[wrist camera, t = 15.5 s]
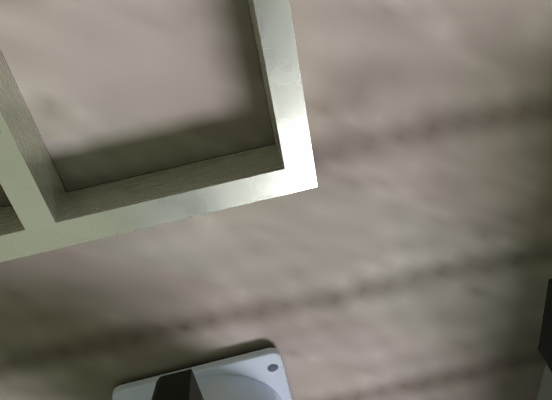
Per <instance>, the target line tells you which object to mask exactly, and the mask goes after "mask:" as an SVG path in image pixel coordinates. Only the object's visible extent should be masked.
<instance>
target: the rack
mask: <svg viewBox="0 0 552 400" xmlns="http://www.w3.org/2000/svg"><path fill="white" fill-rule="evenodd" d="M248 5H249V10H250V15H251V20H252V25H253V31H254V36H255V41H256V46H257V51H258V56H259V61H260V67H261V72H262V77H263V82H264V87H265V92H266V97H267V103H268V108H269V113H270V118H271V123H272V128H273V134H274V139H275V144H273V145H269V146H265V147H260V148H256V149H252V150H248V151H243V152H239V153H235V154H230V155H226V156H222V157H217V158H213V159H209V160H205V161H200V162H196V163H192V164H187V165H183V166H179V167H174V168H170V169H166V170H162V171H157V172H153V173H149V174H144V175H140V176H136V177H132V178H127V179H123V180H119V181H114V182H110V183H106V184H101V185H97V186H93V187H89V188H84V189H80V190H76V191H71V192H67V193H66V191H65V188H64V186H63V184H62V182H61V180H60V178H59V175H58V173H57V171H56V169H55V167H54V165H53V163H52V160H51V158H50V156H49V154H48V152H47V150H46V148H45V145H44V143H43V141H42V139H41V137H40V135H39V132H38V130H37V128H36V126H35V124H34V122H33V120H32V117H31V115H30V113H29V111H28V109H27V107H26V104H25V102H24V100H23V98H22V96H21V94H20V92H19V89H18V87H17V85H16V83H15V81H14V79H13V76H12V74H11V72H10V70H9V68H8V66H7V64H6V61H5V59H4V57H3V55H2V53H1V51H0V184H1V186H2V188H3V190H4V191H5V193H6V195H7V197H8V199H9V201H10V202H11V204H12V205H11V206H7V207H3V208H0V262H4V261H8V260H13V259H17V258H21V257H25V256H30V255H34V254H38V253H42V252H46V251H51V250H55V249H59V248H63V247H67V246H72V245H76V244H80V243H84V242H88V241H93V240H97V239H101V238H105V237H109V236H114V235H118V234H122V233H126V232H130V231H135V230H139V229H143V228H147V227H151V226H156V225H160V224H164V223H168V222H173V221H177V220H181V219H185V218H189V217H194V216H198V215H202V214H206V213H210V212H215V211H219V210H223V209H227V208H231V207H236V206H240V205H244V204H248V203H252V202H257V201H261V200H265V199H269V198H273V197H278V196H282V195H286V194H290V193H295V192H299V191H303V190H307V189H311V188H316V187H318V186H317V180H316V173H315V166H314V160H313V153H312V147H311V140H310V134H309V127H308V121H307V114H306V108H305V101H304V94H303V88H302V81H301V75H300V68H299V62H298V55H297V49H296V42H295V36H294V29H293V22H292V16H291V9H290V3H289V0H248Z"/></svg>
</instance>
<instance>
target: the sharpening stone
mask: <svg viewBox="0 0 552 400" xmlns="http://www.w3.org/2000/svg"><path fill="white" fill-rule="evenodd" d="M537 400H552V372H551V370H550V369H549V367H548V365H547V363H546V365H545V369H544V373H543V377H542V381H541V385H540V389H539V393H538V397H537Z"/></svg>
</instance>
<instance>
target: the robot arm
mask: <svg viewBox="0 0 552 400" xmlns="http://www.w3.org/2000/svg"><path fill="white" fill-rule="evenodd" d="M538 350H539V351H540V353H541V355H542V357H543V358H544V360H545V362H546V363H547V365H548V367H549V369H550V370H551V372H552V279H549V282H548V289H547V295H546V302H545V308H544V315H543V321H542V328H541V334H540V341H539V347H538ZM271 364H274V365H271ZM112 399H113V400H292V399H291V395H290V391H289V387H288V383H287V379H286V375H285V371H284V367H283V363H282V359H281V355H280V352H279V350H278V349H276V348H266V349H262V350H258V351H254V352H250V353H246V354H242V355H238V356H234V357H230V358H226V359H222V360H218V361H214V362H210V363H206V364H202V365H198V366H194V367H190V368H186V369H182V370H178V371H174V372H170V373H166V374H162V375H159V376H155V377H151V378H147V379H143V380H139V381H135V382H131V383H127V384H123V385H120V386H117V387H116V388H115V389H114V390H113V394H112Z"/></svg>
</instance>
